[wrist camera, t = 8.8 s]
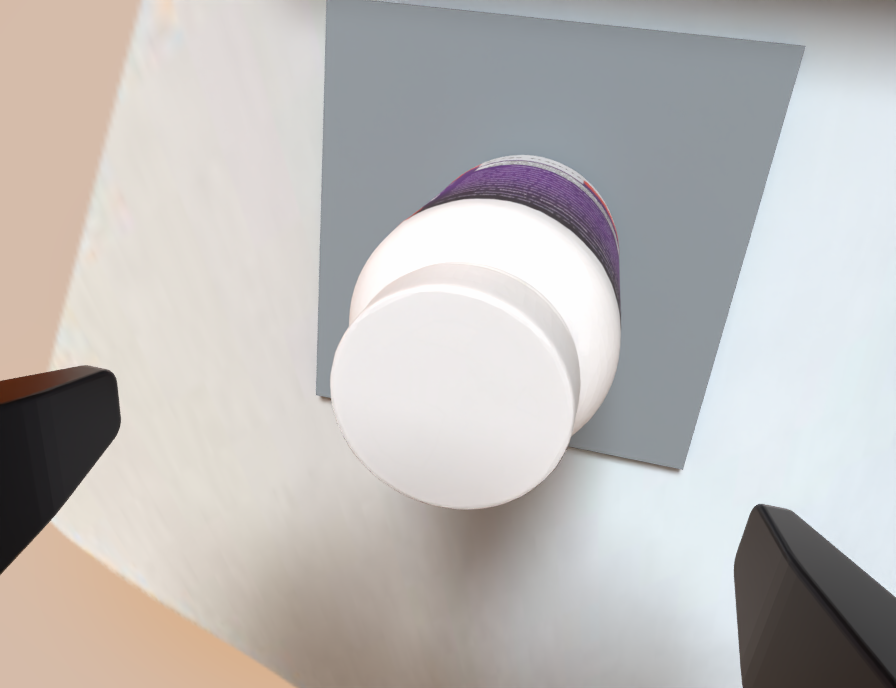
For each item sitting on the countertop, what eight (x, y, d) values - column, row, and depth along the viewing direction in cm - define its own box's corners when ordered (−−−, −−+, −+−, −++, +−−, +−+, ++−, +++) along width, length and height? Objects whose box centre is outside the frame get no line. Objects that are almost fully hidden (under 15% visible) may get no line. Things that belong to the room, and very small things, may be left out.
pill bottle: (435, 142, 19) (282, 215, 10) (634, 162, 18) (657, 263, 9) (424, 324, 21) (291, 514, 12) (601, 350, 20) (594, 577, 11)
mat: (681, 462, 21) (683, 469, 21) (320, 389, 23) (315, 394, 23) (801, 46, 16) (805, 45, 16) (332, -3, 18) (326, -5, 18)
